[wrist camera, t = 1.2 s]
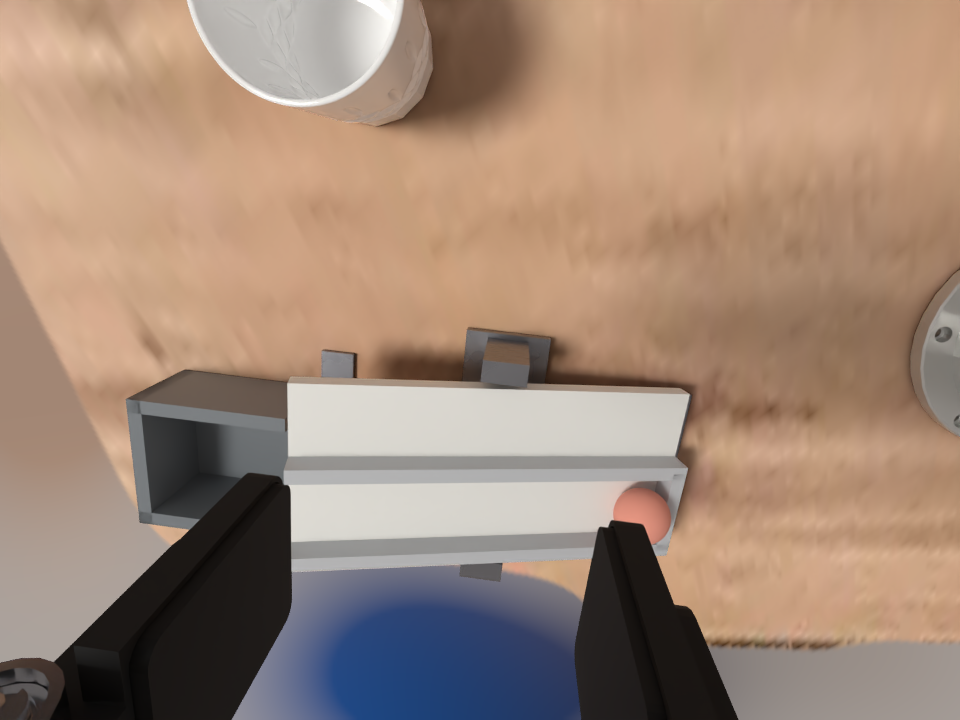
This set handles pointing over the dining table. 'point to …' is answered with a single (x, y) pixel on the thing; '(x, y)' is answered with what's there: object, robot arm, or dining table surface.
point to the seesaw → (470, 469)
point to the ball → (644, 512)
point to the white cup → (323, 53)
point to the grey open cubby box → (203, 441)
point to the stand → (489, 363)
